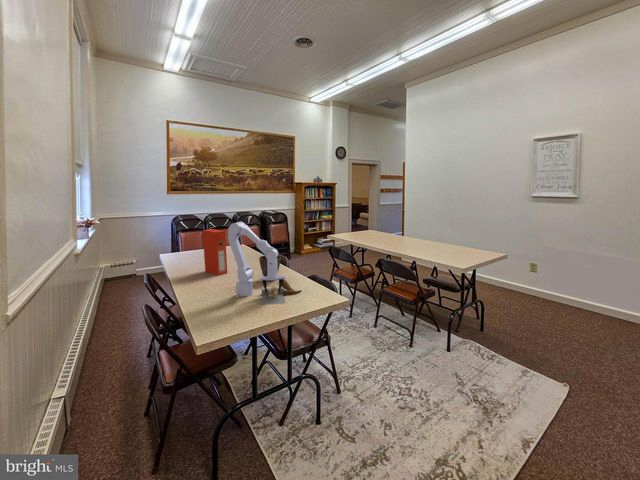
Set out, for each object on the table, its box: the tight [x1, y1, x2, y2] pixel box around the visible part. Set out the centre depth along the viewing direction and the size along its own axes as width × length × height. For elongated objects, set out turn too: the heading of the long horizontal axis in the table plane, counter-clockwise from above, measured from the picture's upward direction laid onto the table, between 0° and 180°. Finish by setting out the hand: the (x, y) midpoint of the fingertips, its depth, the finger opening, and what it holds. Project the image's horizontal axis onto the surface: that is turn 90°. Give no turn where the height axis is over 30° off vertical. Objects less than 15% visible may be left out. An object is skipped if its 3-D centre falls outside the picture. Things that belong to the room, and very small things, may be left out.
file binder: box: [202, 228, 228, 276], centre depth 230 cm, size 8×17×32 cm, turn 51°
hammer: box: [282, 279, 302, 296], centre depth 197 cm, size 12×3×30 cm
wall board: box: [261, 287, 286, 306], centre depth 177 cm, size 13×18×4 cm
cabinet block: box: [267, 285, 278, 298], centre depth 180 cm, size 5×6×5 cm
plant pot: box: [258, 255, 282, 282], centre depth 214 cm, size 15×15×16 cm
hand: (272, 292), depth 181 cm, fingers open, 7 cm apart
